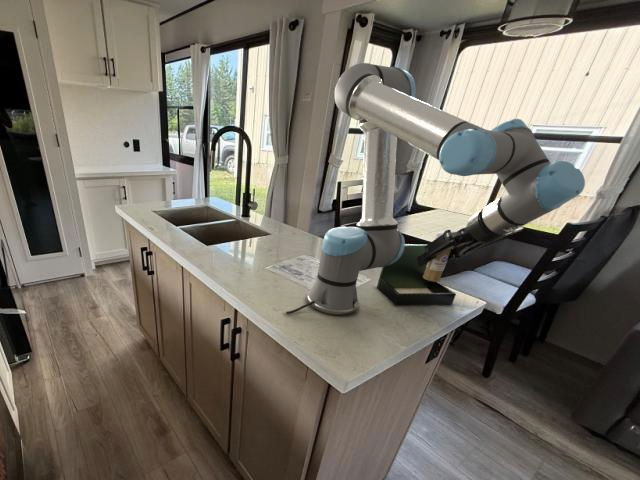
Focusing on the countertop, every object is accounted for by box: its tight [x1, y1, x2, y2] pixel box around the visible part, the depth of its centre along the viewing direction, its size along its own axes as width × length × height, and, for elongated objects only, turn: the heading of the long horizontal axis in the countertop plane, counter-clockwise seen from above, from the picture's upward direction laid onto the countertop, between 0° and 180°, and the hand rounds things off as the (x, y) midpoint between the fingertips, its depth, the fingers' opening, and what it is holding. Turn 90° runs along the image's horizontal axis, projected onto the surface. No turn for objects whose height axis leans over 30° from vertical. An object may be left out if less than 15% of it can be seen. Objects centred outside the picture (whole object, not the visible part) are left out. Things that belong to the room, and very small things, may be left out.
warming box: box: [376, 243, 457, 307], centre depth 106 cm, size 20×13×16 cm, turn 96°
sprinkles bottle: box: [423, 230, 452, 282], centre depth 90 cm, size 5×5×14 cm
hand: (427, 261), depth 95 cm, fingers closed on sprinkles bottle, 4 cm apart
